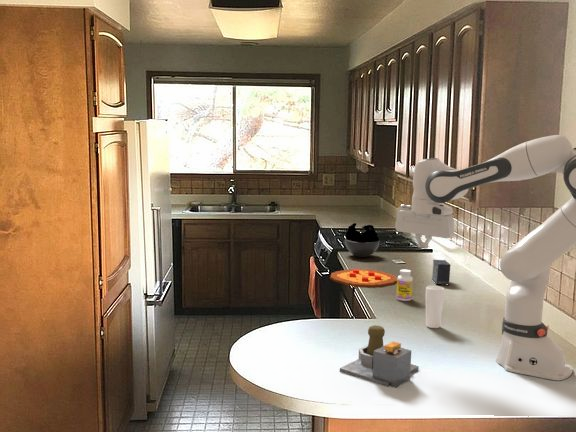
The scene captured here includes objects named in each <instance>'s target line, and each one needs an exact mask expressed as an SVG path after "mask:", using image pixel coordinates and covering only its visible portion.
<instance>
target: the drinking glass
mask: <svg viewBox="0 0 576 432" xmlns="http://www.w3.org/2000/svg"><path fill="white" fill-rule="evenodd" d="M424 297H425V300H424V301H425V326H426V327H427V328H429V329H439V328H440V327H441V320H442V313H443V307H444V299H445V287H443V286H441V285H427V286H425V295H424Z"/></svg>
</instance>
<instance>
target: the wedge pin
mask: <svg viewBox="0 0 576 432" xmlns="http://www.w3.org/2000/svg"><path fill="white" fill-rule="evenodd" d="M384 346H385V350H386V351H387V352H390V353H393V354H396V353H398V349H400V348H402V343H401V342H397V341H394V340H393V341H391V342H388V343H387V344H385V345H384Z"/></svg>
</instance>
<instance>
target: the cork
mask: <svg viewBox="0 0 576 432" xmlns="http://www.w3.org/2000/svg"><path fill="white" fill-rule="evenodd" d="M385 333H386V331H385V328H384V327H383V326H381V325H377V324H374V325H371V326H369V327H368V328H367V334H368V336H369V338H368V343H367V346H368V349H367V354H369V355H372V356H373V354H374V350H376V349H379V348H381V347H383V346H384V339H383V338H384V337H385Z"/></svg>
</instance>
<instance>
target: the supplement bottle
mask: <svg viewBox="0 0 576 432" xmlns="http://www.w3.org/2000/svg"><path fill="white" fill-rule="evenodd" d="M399 274H400V275H398V276H397V277H396V278H397V283H396V292H395V293H396V299H397V300H398V301H401V302H409V301H412V299H413V298H412V297H413V286H414V284H413V282H414V281H413V280H414V278H413V276H411V274H412V270H410V269H405V268H404V269H400V270H399Z"/></svg>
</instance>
